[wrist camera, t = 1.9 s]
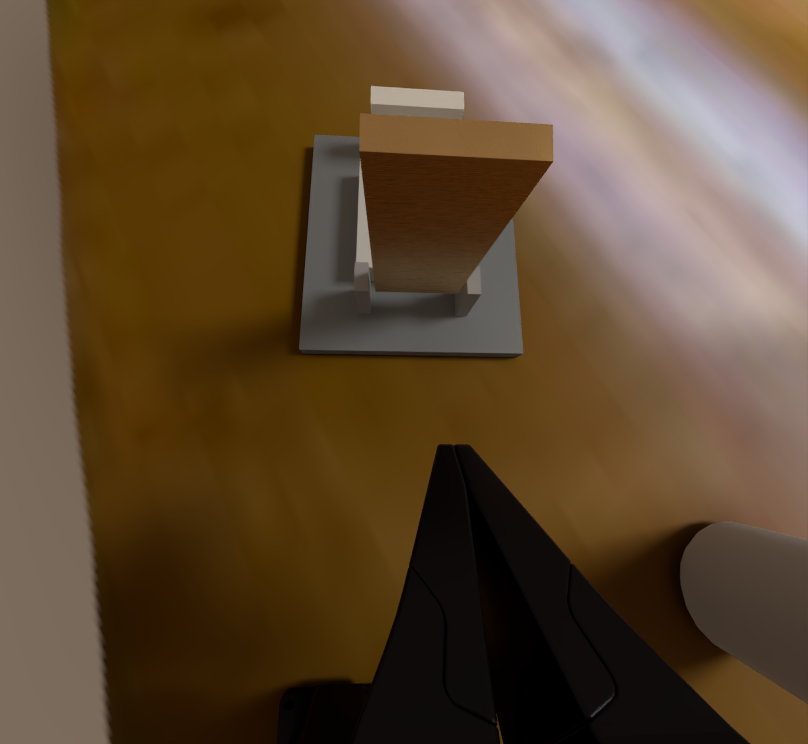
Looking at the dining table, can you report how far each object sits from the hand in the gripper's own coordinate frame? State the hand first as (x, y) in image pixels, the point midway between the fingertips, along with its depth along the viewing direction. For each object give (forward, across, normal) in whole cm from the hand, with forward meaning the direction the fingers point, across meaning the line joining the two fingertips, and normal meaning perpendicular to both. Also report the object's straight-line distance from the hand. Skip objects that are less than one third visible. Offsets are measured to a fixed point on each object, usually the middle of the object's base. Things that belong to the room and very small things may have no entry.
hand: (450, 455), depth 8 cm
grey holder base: (+19, 0, -2) cm, 19 cm away
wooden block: (+13, 0, 0) cm, 13 cm away
